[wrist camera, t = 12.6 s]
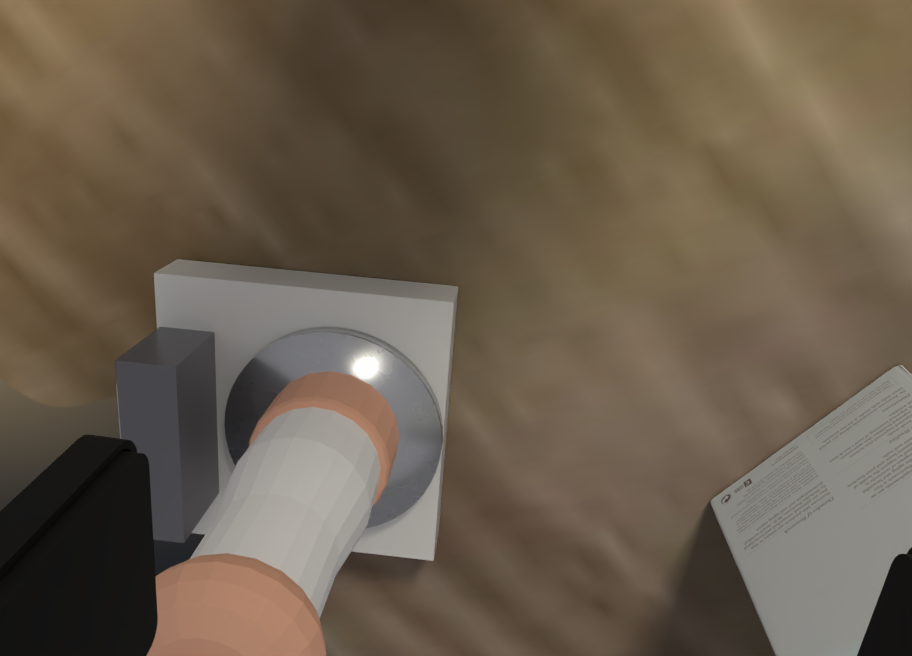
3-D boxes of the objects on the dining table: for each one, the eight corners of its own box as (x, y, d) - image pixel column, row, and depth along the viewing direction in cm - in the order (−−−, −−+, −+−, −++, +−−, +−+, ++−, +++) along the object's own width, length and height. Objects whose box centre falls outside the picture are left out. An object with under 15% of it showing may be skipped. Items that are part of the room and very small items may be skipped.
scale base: (458, 286, 43) (444, 334, 36) (438, 531, 49) (423, 618, 41) (172, 258, 44) (101, 300, 37) (184, 502, 50) (123, 582, 42)
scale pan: (451, 338, 41) (449, 344, 40) (435, 531, 45) (433, 541, 44) (228, 316, 42) (221, 322, 41) (232, 508, 46) (226, 518, 45)
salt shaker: (373, 355, 41) (255, 594, 23) (417, 474, 43) (341, 778, 25) (247, 389, 42) (41, 641, 24) (296, 503, 44) (140, 813, 26)
